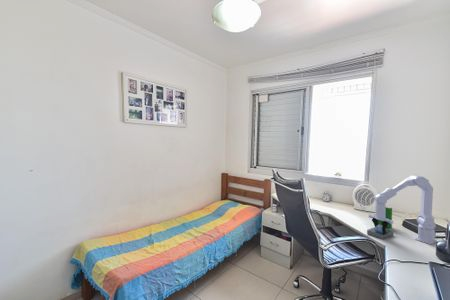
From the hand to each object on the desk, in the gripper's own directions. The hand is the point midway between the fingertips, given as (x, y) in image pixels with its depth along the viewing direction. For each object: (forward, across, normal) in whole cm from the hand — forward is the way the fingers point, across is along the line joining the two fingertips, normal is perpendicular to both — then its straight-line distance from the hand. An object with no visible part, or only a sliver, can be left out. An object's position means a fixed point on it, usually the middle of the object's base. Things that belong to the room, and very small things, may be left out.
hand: (380, 230), depth 142 cm
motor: (+3, -7, +20) cm, 21 cm away
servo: (+2, 0, 0) cm, 2 cm away
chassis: (+3, 0, 0) cm, 3 cm away
